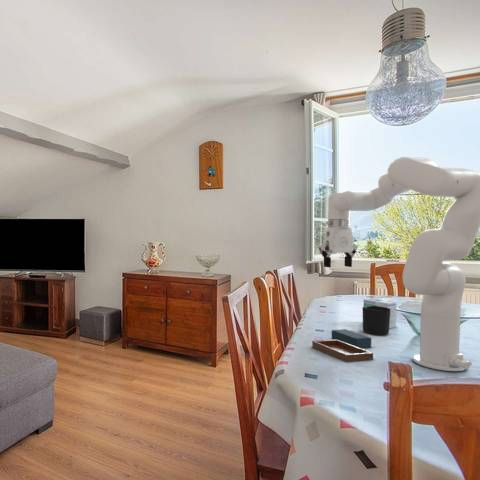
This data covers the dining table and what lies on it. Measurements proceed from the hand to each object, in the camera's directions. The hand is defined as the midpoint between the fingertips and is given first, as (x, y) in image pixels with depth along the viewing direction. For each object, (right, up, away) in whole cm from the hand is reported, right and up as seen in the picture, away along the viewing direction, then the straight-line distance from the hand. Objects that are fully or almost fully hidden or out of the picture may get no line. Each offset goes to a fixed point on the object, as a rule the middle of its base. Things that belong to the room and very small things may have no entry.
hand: (337, 266), depth 161 cm
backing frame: (-13, -27, -26) cm, 40 cm away
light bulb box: (+25, -26, +12) cm, 38 cm away
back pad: (-3, -27, -14) cm, 31 cm away
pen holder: (+15, -27, 0) cm, 31 cm away
